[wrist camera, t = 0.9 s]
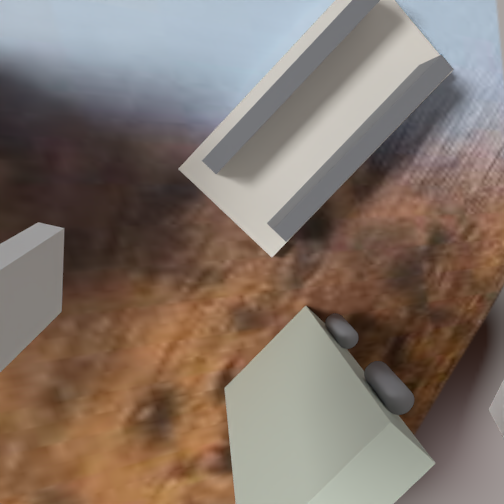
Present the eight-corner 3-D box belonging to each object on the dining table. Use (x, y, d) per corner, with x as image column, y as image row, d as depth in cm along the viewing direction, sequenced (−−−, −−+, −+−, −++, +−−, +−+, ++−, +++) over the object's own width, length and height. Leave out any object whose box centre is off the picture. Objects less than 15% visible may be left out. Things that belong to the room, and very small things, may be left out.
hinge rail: (270, 254, 33) (278, 266, 30) (178, 168, 32) (175, 169, 28) (445, 73, 32) (478, 60, 28) (361, -28, 30) (384, -56, 27)
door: (252, 411, 36) (290, 602, 20) (224, 388, 35) (241, 567, 20) (345, 317, 35) (459, 440, 19) (318, 292, 34) (414, 398, 19)
